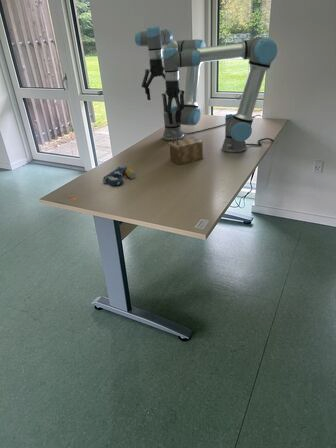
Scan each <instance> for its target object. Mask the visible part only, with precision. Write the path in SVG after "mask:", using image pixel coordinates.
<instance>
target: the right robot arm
mask: <svg viewBox="0 0 336 448" xmlns="http://www.w3.org/2000/svg"><path fill="white" fill-rule="evenodd" d="M277 55H278V46H277V43H276V42H275V41H274V40H273V39H271V38H269V37H262V36H258V37H255V38H251V39H246V40H241V42H238V43H231V44H229V43H227V44H219V45H212V46H206V47H202V48H193V49H184V50H183V51H182V52H178V51H177V48H168V49H164V51H163V52H162V57H163V67H164V69H165V70H164V74H165V79H164V80H165V92H164V93H161V98H162V105H163V113H164V112H167V115H168V118H169V124H173V121H172V113H171V105H173V100H174V101H175V103H176V104H175V105H177V108H178V110H177V122H179V123H181V119H180V116H181V111H182V109H184V96H185V90H182V89H180V80H179V78H180V74H179V68H187V67H190V66H199V65H200V62H202V63H208V62H217V61H218V62H219V61H226V60H227V61H228V60H235V59H241V60H242V61H245V60H248V67H249V70H248V74H247V77H246V80H245V84H244V87H243V90H242V94H241V97H240V101H239V105H238V108H237V110H236V112H228V113H226V114H225V118H224V119H225V122H224V124H225V125H224V126H225V128H224V129H225V130H224V131H225V134H224V135H225V136H224V141H223V143H222V146H221V147H222V148H221V149H222V151H223V152H226V153H232V154H236V153H237V154H238V153H242V152H244V151H246V150H247V146H257V147H259V146H262V143H263V142H261V141H266V140H267V141H268V140H269V141H271V142H274V139H272V138H270V137H265V138H260V139H258V140H257V143H246V141H247V140H248V139H249V138H250V137H251V135H252V134H253V133H252V131H253V128H252V126H253V122H254V117H252V116H253V114H254V110H255V107H256V103H257V100H258V98H259V97H258V96H259V94H260V91H261V87H262V83H263V81H264V78H265V74H266V72H267V71H268V70H270V67H271V64H272V62H273V61H274V60H275V59H276V57H277ZM200 66H201V65H200Z"/></svg>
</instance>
